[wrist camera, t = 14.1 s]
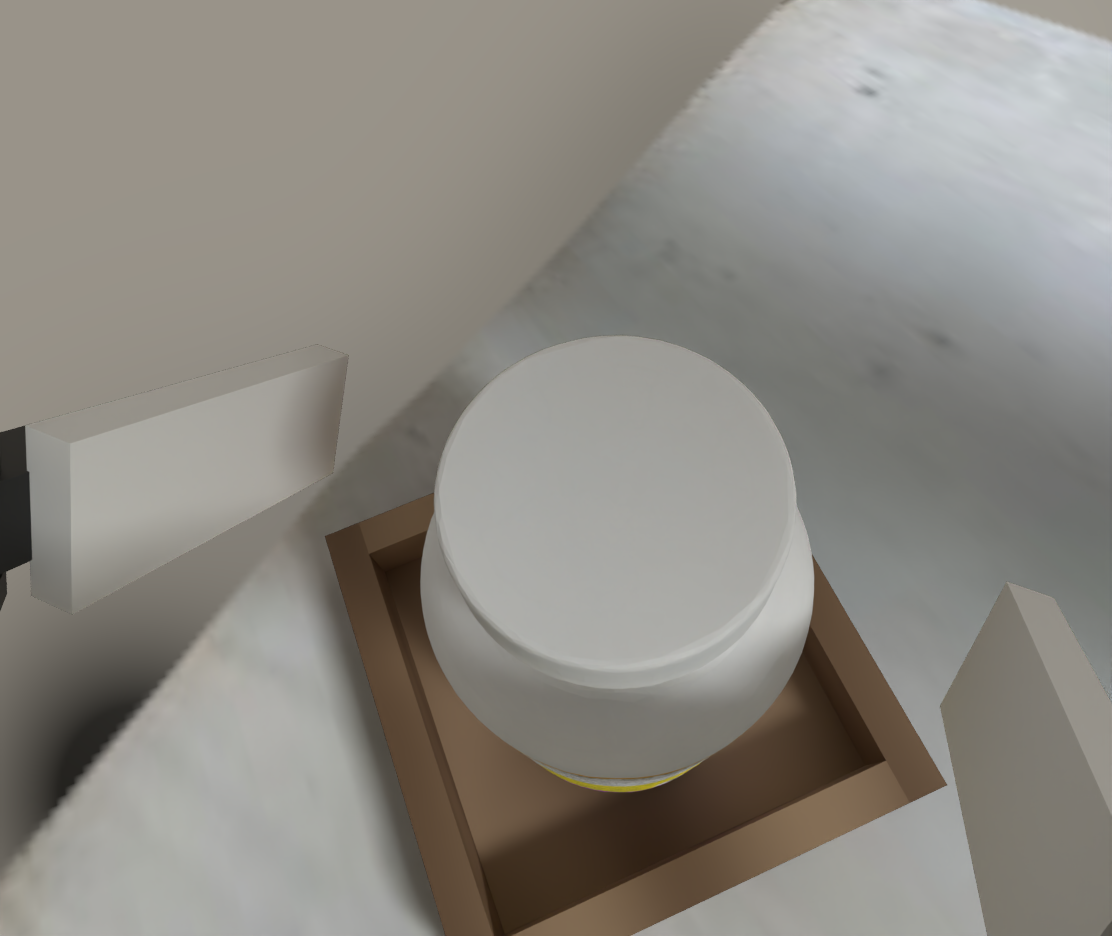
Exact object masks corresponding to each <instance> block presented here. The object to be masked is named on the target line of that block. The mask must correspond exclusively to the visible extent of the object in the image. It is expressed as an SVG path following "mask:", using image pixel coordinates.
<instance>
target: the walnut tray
mask: <svg viewBox="0 0 1112 936" xmlns="http://www.w3.org/2000/svg"><path fill="white" fill-rule="evenodd" d="M433 514H434V493H432V494H430V495H427V496H425V497H422V498H420V499H417V500H415V501H412V502H409V503H407V504H404V505H402V506H399V507H397V508H394V509H392V510H389V511H387V512H384V513H382V514H379V515H377V516H374V517H372V518H369V519H367V520H364V521H362V522H359V523H357V524H354V525H352V526H349V527H347V528H344V529H342V530H339V531H337V532H334V533H332V534H329V535H327V536H325V538H326V542H327V545H328V548H329V552H330V555H331V558H332V561H333V565H334V568H335V571H336V575H337V578H338V581H339V585H340V588H341V591H342V595H343V598H344V601H345V604H346V608H347V611H348V614H349V618H350V621H351V624H352V628H353V631H354V634H355V638H356V641H357V644H358V648H359V651H360V654H361V657H362V661H363V664H364V667H365V671H366V674H367V677H368V681H369V684H370V687H371V691H372V694H373V697H374V700H375V704H376V707H377V710H378V714H379V717H380V720H381V724H382V727H383V730H384V734H385V737H386V740H387V743H388V747H389V750H390V753H391V757H392V760H393V763H394V767H395V770H396V773H397V777H398V780H399V783H400V786H401V790H402V793H403V796H404V800H405V803H406V806H407V810H408V813H409V816H410V820H411V823H412V826H413V829H414V833H415V836H416V839H417V843H418V846H419V849H420V853H421V856H422V859H423V863H424V866H425V869H426V873H427V876H428V879H429V882H430V886H431V889H432V892H433V896H434V899H435V902H436V906H437V909H438V912H439V916H440V919H441V922H442V925H443V929H444V932H445V935H446V936H631V935H633V934H635V933H637V932H639V931H641V930H643V929H646V928H648V927H650V926H652V925H654V924H656V923H658V922H660V921H662V920H664V919H667V918H669V917H671V916H673V915H675V914H677V913H679V912H681V911H683V910H686V909H688V908H690V907H692V906H694V905H696V904H698V903H700V902H702V901H704V900H707V899H709V898H711V897H713V896H715V895H717V894H719V893H721V892H723V891H725V890H728V889H730V888H732V887H734V886H736V885H738V884H740V883H742V882H744V881H746V880H749V879H751V878H753V877H755V876H757V875H759V874H761V873H763V872H765V871H767V870H770V869H772V868H774V867H776V866H778V865H780V864H782V863H784V862H786V861H788V860H791V859H793V858H795V857H797V856H799V855H801V854H803V853H805V852H807V851H810V850H812V849H814V848H816V847H818V846H820V845H822V844H824V843H826V842H828V841H831V840H833V839H835V838H837V837H839V836H841V835H843V834H845V833H847V832H849V831H852V830H854V829H856V828H858V827H860V826H862V825H864V824H866V823H868V822H870V821H873V820H875V819H877V818H879V817H881V816H883V815H885V814H887V813H889V812H891V811H894V810H896V809H898V808H900V807H902V806H904V805H906V804H908V803H910V802H913V801H915V800H917V799H919V798H921V797H923V796H925V795H927V794H929V793H931V792H934V791H936V790H938V789H940V788H942V787H944V786H946V785H947V784H946V782H945V780H944V779H943V777H942V775H941V774H940V772H939V770H938V769H937V767H936V765H935V763H934V762H933V760H932V758H931V757H930V755H929V753H928V751H927V750H926V748H925V746H924V745H923V743H922V741H921V740H920V738H919V736H918V734H917V733H916V731H915V729H914V728H913V726H912V724H911V722H910V721H909V719H908V717H907V716H906V714H905V712H904V710H903V709H902V707H901V705H900V704H899V702H898V700H897V699H896V697H895V695H894V693H893V692H892V690H891V688H890V687H889V685H888V683H887V681H886V680H885V678H884V676H883V675H882V673H881V671H880V670H879V668H878V666H877V664H876V663H875V661H874V659H873V658H872V656H871V654H870V652H869V651H868V649H867V647H866V646H865V644H864V642H863V640H862V639H861V637H860V635H859V634H858V632H857V630H856V629H855V627H854V625H853V623H852V622H851V620H850V618H849V617H848V615H847V613H846V611H845V610H844V608H843V606H842V605H841V603H840V601H839V600H838V598H837V596H836V594H835V593H834V591H833V589H832V588H831V586H830V584H829V582H828V581H827V579H826V577H825V576H824V574H823V572H822V570H821V569H820V567H819V565H818V564H817V562H816V560H815V559H814V557H813V555H812V560H813V569H814V598H813V610H812V617H811V621H810V626H809V631H808V634H807V638H806V641H805V644H804V648H803V651H802V654H801V656H800V658H799V660H798V663H797V665H796V667H795V669H794V671H793V673H792V675H791V677H790V679H789V680H788V682H787V684H786V685H785V687H784V689H783V690H782V692H781V693H780V694H779V696H778V697H777V698H776V700H775V701H774V702H773V704H772V705H771V706H770V707H769V708H768V710H767V711H766V712H765V713H764V714H763V715H762V716H761V717H760V718H759V719H758V720H757V721H756V722H755V723H754V724H753V725H752V726H751V727H750V728H749V729H748V730H746V731H745V732H744V733H743V734H742V735H741V736H739V737H738V738H737V739H736V740H734V741H733V742H732V743H730V744H729V745H728V746H726V747H724V748H723V749H721V750H719V751H718V752H716V753H715V754H713V755H711V756H710V757H708V758H707V759H705V760H704V761H702V762H701V763H700V764H699V765H697V766H695V767H693V768H692V769H690V770H689V771H687V772H686V773H684V774H683V775H681V776H679V777H677V778H675V779H673V780H671V781H669V782H667V783H665V784H662V785H659V786H657V787H654V788H650V789H646V790H642V791H635V792H604V791H598V790H593V789H588V788H584V787H581V786H578V785H575V784H572V783H570V782H567V781H565V780H563V779H561V778H560V777H558V776H556V775H554V774H552V773H551V772H549V771H548V770H546V769H545V768H543V767H542V766H540V765H539V764H537V763H536V762H535V761H533V760H532V759H530V758H529V757H527V756H526V755H523V754H522V753H520V752H519V751H518V750H516V749H515V748H513V747H512V746H510V745H509V744H507V743H506V742H504V741H503V740H502V739H500V738H499V737H498V736H497V735H495V734H494V733H493V732H492V731H491V730H489V729H488V728H487V727H486V726H485V725H484V724H483V723H482V722H480V721H479V720H478V719H477V718H476V716H475V715H474V714H473V713H472V712H471V711H470V710H469V709H468V708H467V706H466V705H465V704H464V703H463V701H462V700H461V699H460V698H459V697H458V695H457V694H456V693H455V691H454V689H453V688H452V686H451V684H450V683H449V681H448V680H447V678H446V676H445V674H444V673H443V671H442V669H441V667H440V665H439V663H438V661H437V659H436V656H435V654H434V651H433V649H432V646H431V643H430V640H429V637H428V634H427V630H426V626H425V621H424V616H423V610H422V601H421V589H420V579H421V562H422V555H423V549H424V544H425V539H426V535H427V531H428V528H429V525H430V521H431V518H432V516H433Z"/></svg>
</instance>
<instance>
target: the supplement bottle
mask: <svg viewBox="0 0 1112 936" xmlns="http://www.w3.org/2000/svg"><path fill="white" fill-rule="evenodd" d="M796 493H797V492H796V487H795V481H794V475H793V469H792V464H791V461H790V457H789V454H788V451H787V448H786V446H785V443H784V441H783V439H782V436H781V434H780V432H779V431H778V429H777V427H776V425H775V423H774V422H773V420H772V418H771V417H770V415H769V413H768V412H767V410H766V409H765V408H764V406H763V405H762V404H761V403H760V401H759V400H758V399H757V398H756V397H755V395H754V394H753V393H752V392H751V391H750V390H749V389H748V388H747V387H746V386H745V385H744V384H743V383H741V382H740V381H739V380H738V379H737V378H735V377H734V376H733V375H732V374H731V373H730V372H728V371H727V370H725V369H724V368H722V367H721V366H719V365H718V364H716V363H715V362H713V361H712V360H710V359H708V358H706V357H704V356H702V355H700V354H698V353H695V352H693V351H691V350H689V349H686V348H684V347H681V346H678V345H675V344H671V343H668V342H665V341H661V340H656V339H650V338H644V337H638V336H625V335H614V336H596V337H588V338H581V339H577V340H573V341H569V342H565V343H562V344H558V345H554V346H551V347H548V348H546V349H543V350H541V351H538V352H536V353H534V354H531V355H529V356H527V357H525V358H524V359H522V360H520V361H519V362H517V363H515V364H513V365H512V366H510V367H509V368H507V369H505V370H504V371H503V372H502V373H500V374H499V375H498V376H496V377H495V378H494V379H493V380H492V381H490V382H489V383H488V384H487V385H486V386H485V387H484V388H483V389H482V390H481V391H480V392H479V393H478V394H477V395H476V396H475V397H474V398H473V400H472V401H471V402H470V403H469V405H468V406H467V407H466V408H465V410H464V411H463V413H462V414H461V416H460V417H459V419H458V420H457V422H456V424H455V426H454V428H453V429H452V431H451V433H450V435H449V437H448V439H447V442H446V444H445V447H444V450H443V452H442V455H441V458H440V462H439V465H438V470H437V475H436V481H435V489H434V514H433V516H432V518H431V521H430V525H429V528H428V531H427V535H426V539H425V544H424V549H423V555H422V562H421V579H420V589H421V601H422V610H423V616H424V621H425V626H426V630H427V634H428V637H429V640H430V643H431V646H432V649H433V651H434V654H435V656H436V659H437V661H438V663H439V665H440V667H441V669H442V671H443V673H444V674H445V676H446V678H447V680H448V681H449V683H450V684H451V686H452V688H453V689H454V691H455V693H456V694H457V695H458V697H459V698H460V699H461V700H462V701H463V703H464V704H465V705H466V706H467V708H468V709H469V710H470V711H471V712H472V713H473V714H474V715H475V716H476V718H477V719H478V720H479V721H480V722H482V723H483V724H484V725H485V726H486V727H487V728H488V729H489V730H491V731H492V732H493V733H494V734H495V735H497V736H498V737H499V738H500V739H502V740H503V741H504V742H506V743H507V744H509V745H510V746H512V747H513V748H515V749H516V750H518V751H519V752H520V753H522V754H523V755H526V756H527V757H529V758H530V759H532V760H533V761H535V762H536V763H537V764H539V765H540V766H542V767H543V768H545V769H546V770H548V771H549V772H551V773H552V774H554V775H556V776H558V777H560V778H561V779H563V780H565V781H567V782H570V783H572V784H575V785H578V786H581V787H584V788H588V789H593V790H598V791H604V792H635V791H642V790H646V789H650V788H654V787H657V786H659V785H662V784H665V783H667V782H669V781H671V780H673V779H675V778H677V777H679V776H681V775H683V774H684V773H686V772H687V771H689V770H690V769H692V768H693V767H695V766H697V765H699V764H700V763H701V762H702V761H704V760H705V759H707V758H708V757H710V756H711V755H713V754H715V753H716V752H718V751H719V750H721V749H723V748H724V747H726V746H728V745H729V744H730V743H732V742H733V741H734V740H736V739H737V738H738V737H739V736H741V735H742V734H743V733H744V732H745V731H746V730H748V729H749V728H750V727H751V726H752V725H753V724H754V723H755V722H756V721H757V720H758V719H759V718H760V717H761V716H762V715H763V714H764V713H765V712H766V711H767V710H768V708H769V707H770V706H771V705H772V704H773V702H774V701H775V700H776V698H777V697H778V696H779V694H780V693H781V692H782V690H783V689H784V687H785V685H786V684H787V682H788V680H789V679H790V677H791V675H792V673H793V671H794V669H795V667H796V665H797V663H798V660H799V658H800V656H801V654H802V651H803V648H804V644H805V641H806V638H807V634H808V631H809V626H810V621H811V617H812V610H813V598H814V569H813V560H812V553H811V548H810V543H809V539H808V534H807V531H806V528H805V525H804V522H803V519H802V517H801V514H800V512H799V509H798V507H797V504H796Z"/></svg>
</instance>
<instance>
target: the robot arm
mask: <svg viewBox="0 0 1112 936" xmlns="http://www.w3.org/2000/svg"><path fill="white" fill-rule="evenodd" d="M348 356H349V355H347V354H344V353H341V352H338V351H335V350H332V349H330V348H327V347H324V346H321V345H318V344H316V345H313V346H309V347H305V348H302V349H298V350H295V351H291V352H287V353H284V354H280V355H277V356H273V357H269V358H266V359H262V360H259V361H255V362H252V363H248V364H244V365H241V366H237V367H233V368H230V369H227V370H223V371H219V372H215V373H212V374H208V375H205V376H201V377H197V378H194V379H190V380H187V381H183V382H180V383H176V384H172V385H169V386H165V387H161V388H158V389H154V390H151V391H147V392H144V393H140V394H136V395H133V396H129V397H125V398H122V399H118V400H115V401H111V402H107V403H104V404H100V405H97V406H93V407H89V408H86V409H82V410H79V411H75V412H72V413H68V414H65V415H61V416H57V417H53V418H50V419H47V420H43V421H39V422H35V423H32V424H28V425H25V426H22V427H18V428H15V429H12V430H8V431H4V432H0V610H1V608H2V605H3V602H4V600H5V597H6V595H7V582H6V571H8V570H11V569H13V568H15V567H18V566H20V565H22V564H24V563H27V562H28V561H30V576H31V596H33V597H35V598H37V599H39V600H41V601H44V602H46V603H48V604H50V605H52V606H54V607H56V608H58V609H61V610H63V611H65V612H67V613H69V614H71V615H73V614H74V613H76V612H78V611H80V610H82V609H84V608H85V607H87V606H89V605H91V604H93V603H95V602H96V601H98V600H100V599H102V598H104V597H106V596H107V595H109V594H111V593H113V592H115V591H117V590H119V589H120V588H122V587H124V586H126V585H128V584H130V583H131V582H133V581H135V580H137V579H139V578H141V577H143V576H144V575H146V574H148V573H150V572H152V571H154V570H155V569H157V568H159V567H161V566H163V565H164V564H166V563H168V562H170V561H172V560H174V559H175V558H178V557H179V556H181V555H183V554H185V553H187V552H188V551H190V550H192V549H194V548H196V547H198V546H200V545H201V544H203V543H205V542H207V541H209V540H211V539H212V538H214V537H216V536H218V535H219V534H221V533H223V532H225V531H227V530H229V529H231V528H233V527H235V526H236V525H238V524H240V523H242V522H244V521H246V520H247V519H249V518H251V517H253V516H255V515H257V514H259V513H260V512H262V511H264V510H266V509H268V508H269V507H271V506H273V505H275V504H277V503H279V502H281V501H283V500H284V499H286V498H288V497H290V496H292V495H293V494H295V493H297V492H299V491H301V490H303V489H305V488H306V487H308V486H310V485H312V484H314V483H316V482H317V481H319V480H321V479H323V478H325V477H327V476H329V475H330V474H332V473H333V469H334V461H335V454H336V446H337V439H338V431H339V424H340V416H341V409H342V400H343V393H344V386H345V379H346V371H347V364H348ZM940 708H941V713H942V718H943V723H944V728H945V732H946V737H947V742H948V747H949V752H950V757H951V762H952V767H953V771H954V776H955V781H956V786H957V791H958V796H959V801H960V805H961V810H962V815H963V820H964V825H965V830H966V835H967V839H968V844H969V849H970V854H971V859H972V864H973V869H974V873H975V878H976V883H977V888H978V893H979V898H980V903H981V908H982V912H983V917H984V922H985V927H986V932H987V936H1112V703H1111V701H1110V699H1109V698H1108V696H1107V694H1106V692H1105V690H1104V688H1103V687H1102V685H1101V683H1100V681H1099V679H1098V677H1097V676H1096V674H1095V672H1094V670H1093V668H1092V667H1091V665H1090V663H1089V661H1088V659H1087V657H1086V656H1085V654H1084V652H1083V650H1082V648H1081V646H1080V645H1079V643H1078V641H1077V639H1076V637H1075V635H1074V634H1073V632H1072V630H1071V628H1070V626H1069V625H1068V623H1067V621H1066V619H1065V617H1064V615H1063V614H1062V612H1061V610H1060V608H1059V606H1058V604H1057V603H1056V601H1055V599H1054V598H1053V597H1050V596H1047V595H1044V594H1042V593H1039V592H1036V591H1033V590H1030V589H1027V588H1024V587H1021V586H1018V585H1015V584H1012V583H1010V582H1006V584H1005V586H1004V588H1003V590H1002V591H1001V593H1000V595H999V597H998V599H997V601H996V603H995V605H994V606H993V608H992V610H991V612H990V614H989V616H988V618H987V619H986V621H985V623H984V625H983V627H982V629H981V631H980V633H979V634H978V636H977V638H976V640H975V642H974V644H973V646H972V647H971V649H970V651H969V653H968V655H967V657H966V659H965V661H964V662H963V664H962V666H961V668H960V670H959V672H958V674H957V675H956V677H955V679H954V681H953V683H952V685H951V687H950V688H949V690H948V692H947V694H946V696H945V698H944V700H943V702H942V703H941V705H940Z"/></svg>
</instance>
